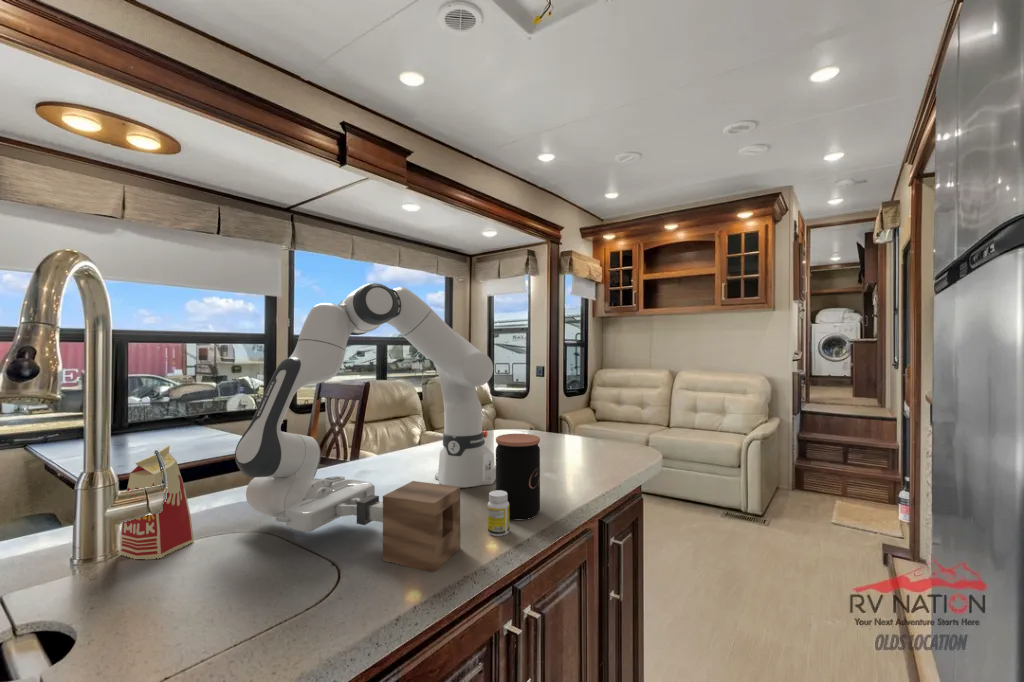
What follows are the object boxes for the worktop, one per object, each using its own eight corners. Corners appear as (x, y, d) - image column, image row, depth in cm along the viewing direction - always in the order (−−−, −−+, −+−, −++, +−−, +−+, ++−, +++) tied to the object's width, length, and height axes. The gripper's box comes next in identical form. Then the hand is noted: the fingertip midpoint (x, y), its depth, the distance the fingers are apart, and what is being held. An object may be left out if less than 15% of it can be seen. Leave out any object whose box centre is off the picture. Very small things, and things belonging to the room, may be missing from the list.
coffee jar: (536, 523, 104) (536, 443, 104) (490, 519, 106) (490, 441, 106) (543, 506, 114) (542, 434, 114) (501, 503, 116) (501, 432, 116)
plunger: (370, 515, 95) (371, 494, 95) (420, 524, 91) (420, 502, 91) (356, 523, 91) (356, 501, 91) (407, 532, 87) (407, 509, 87)
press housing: (413, 539, 95) (412, 480, 95) (460, 548, 91) (460, 486, 91) (382, 561, 86) (382, 496, 86) (434, 571, 82) (434, 503, 82)
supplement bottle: (499, 525, 102) (499, 488, 102) (514, 532, 99) (514, 493, 99) (482, 532, 99) (482, 493, 99) (497, 538, 95) (497, 498, 95)
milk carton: (159, 538, 96) (159, 442, 96) (196, 541, 94) (196, 444, 94) (113, 558, 87) (113, 452, 87) (153, 562, 85) (153, 455, 85)
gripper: (270, 501, 89) (326, 511, 84) (344, 473, 108) (393, 479, 103) (270, 534, 89) (326, 545, 84) (344, 500, 108) (393, 507, 103)
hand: (364, 509), depth 93 cm, fingers closed, pressing on plunger
